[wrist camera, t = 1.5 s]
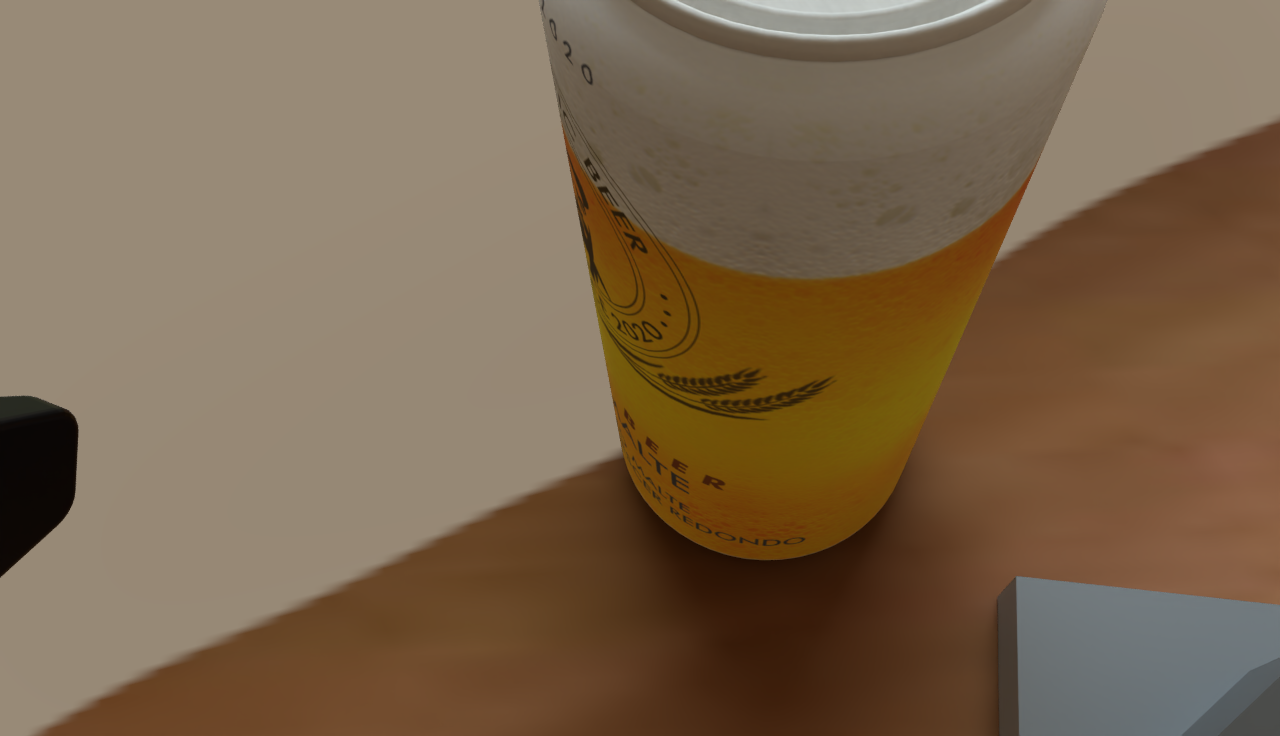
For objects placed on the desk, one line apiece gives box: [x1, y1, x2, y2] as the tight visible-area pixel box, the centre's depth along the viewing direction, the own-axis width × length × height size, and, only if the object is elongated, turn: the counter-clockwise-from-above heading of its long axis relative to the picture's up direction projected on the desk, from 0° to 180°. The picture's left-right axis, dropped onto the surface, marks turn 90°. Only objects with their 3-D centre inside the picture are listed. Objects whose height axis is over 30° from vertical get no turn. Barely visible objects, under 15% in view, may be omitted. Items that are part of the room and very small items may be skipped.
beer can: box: [539, 0, 1107, 560], centre depth 17 cm, size 6×6×15 cm
